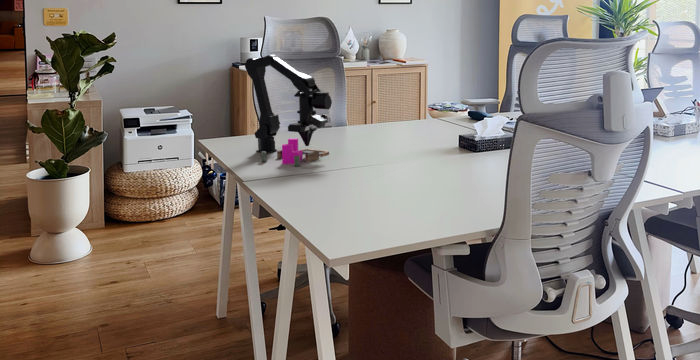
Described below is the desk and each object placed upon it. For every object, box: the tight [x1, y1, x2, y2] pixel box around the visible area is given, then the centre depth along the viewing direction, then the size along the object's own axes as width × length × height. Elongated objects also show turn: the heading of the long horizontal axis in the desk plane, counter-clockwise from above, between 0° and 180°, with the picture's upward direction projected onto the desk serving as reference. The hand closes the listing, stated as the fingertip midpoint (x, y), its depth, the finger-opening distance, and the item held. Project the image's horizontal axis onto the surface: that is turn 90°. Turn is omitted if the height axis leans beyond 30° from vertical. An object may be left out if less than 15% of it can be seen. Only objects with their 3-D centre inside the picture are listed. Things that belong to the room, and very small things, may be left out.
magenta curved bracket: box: [281, 137, 304, 165], centre depth 291 cm, size 15×6×8 cm, turn 174°
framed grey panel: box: [260, 148, 330, 168], centre depth 294 cm, size 18×27×4 cm, turn 149°
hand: (307, 146), depth 299 cm, fingers closed
